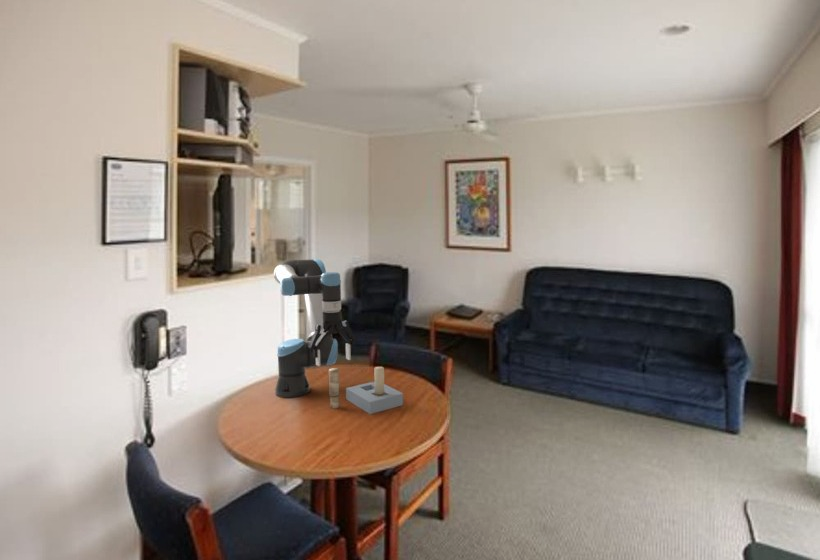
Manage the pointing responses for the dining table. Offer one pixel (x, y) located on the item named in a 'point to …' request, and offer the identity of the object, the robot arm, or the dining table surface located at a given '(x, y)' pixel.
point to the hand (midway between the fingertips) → (333, 362)
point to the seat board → (374, 394)
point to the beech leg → (334, 387)
